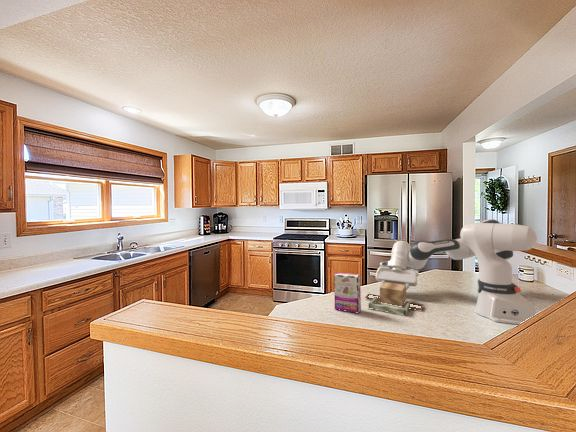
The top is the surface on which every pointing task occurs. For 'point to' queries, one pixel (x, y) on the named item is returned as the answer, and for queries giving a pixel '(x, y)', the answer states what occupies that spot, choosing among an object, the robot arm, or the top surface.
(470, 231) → the robot arm
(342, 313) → the top surface
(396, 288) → the block
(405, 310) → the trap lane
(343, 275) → the candy bar box
